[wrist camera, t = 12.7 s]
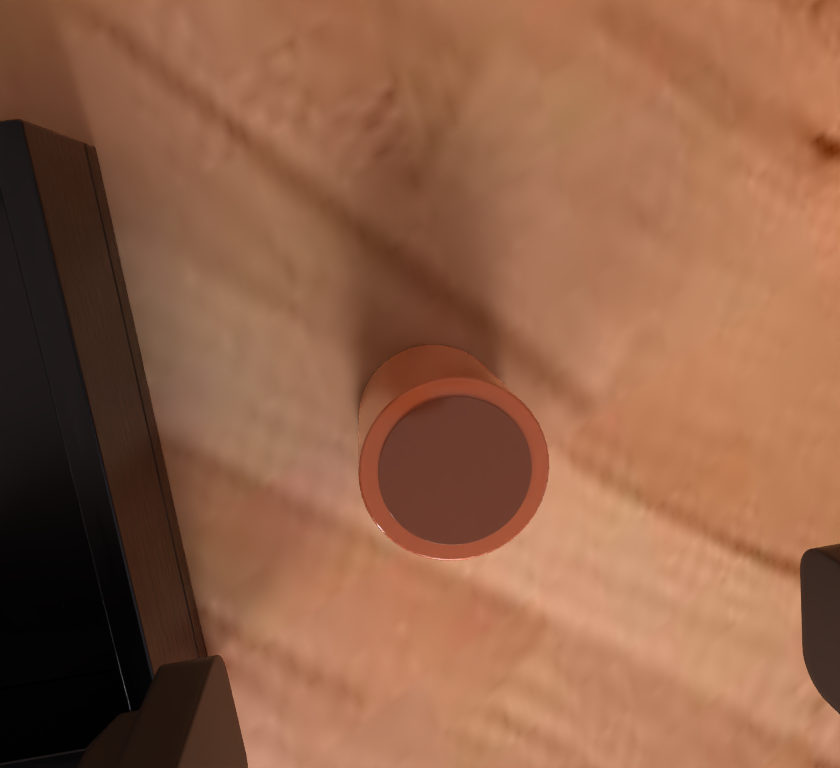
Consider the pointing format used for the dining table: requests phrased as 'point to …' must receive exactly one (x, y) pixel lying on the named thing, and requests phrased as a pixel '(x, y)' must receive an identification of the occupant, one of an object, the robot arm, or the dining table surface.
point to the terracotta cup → (448, 455)
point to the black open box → (76, 468)
